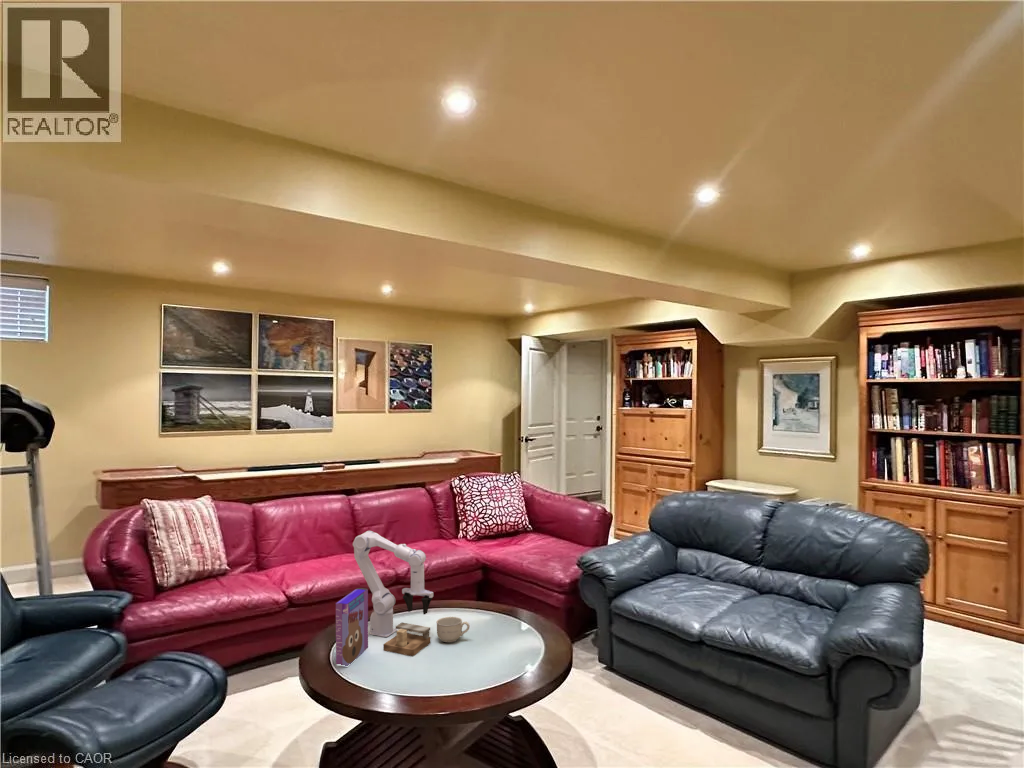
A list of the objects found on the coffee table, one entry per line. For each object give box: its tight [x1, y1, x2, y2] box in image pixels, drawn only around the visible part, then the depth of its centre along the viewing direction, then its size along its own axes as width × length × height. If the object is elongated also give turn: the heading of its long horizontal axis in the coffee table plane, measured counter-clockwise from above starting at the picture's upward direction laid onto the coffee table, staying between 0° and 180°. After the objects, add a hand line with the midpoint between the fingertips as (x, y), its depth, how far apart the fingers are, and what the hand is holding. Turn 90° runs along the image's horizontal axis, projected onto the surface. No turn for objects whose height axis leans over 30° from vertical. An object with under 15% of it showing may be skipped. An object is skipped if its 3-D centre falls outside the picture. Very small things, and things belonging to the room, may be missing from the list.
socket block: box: [382, 622, 431, 657], centre depth 235 cm, size 14×13×6 cm
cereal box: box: [335, 587, 369, 666], centre depth 227 cm, size 17×5×24 cm, turn 168°
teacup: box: [436, 616, 470, 643], centre depth 241 cm, size 14×11×8 cm
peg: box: [395, 629, 408, 647], centre depth 231 cm, size 3×3×8 cm
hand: (417, 612), depth 246 cm, fingers open, 7 cm apart
